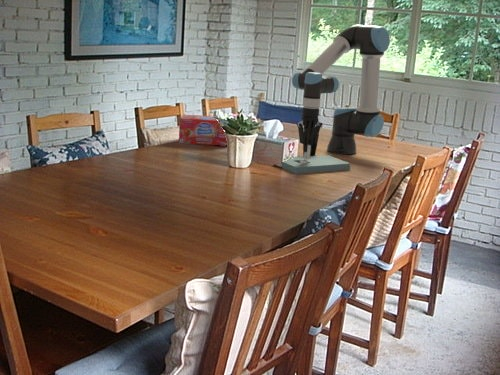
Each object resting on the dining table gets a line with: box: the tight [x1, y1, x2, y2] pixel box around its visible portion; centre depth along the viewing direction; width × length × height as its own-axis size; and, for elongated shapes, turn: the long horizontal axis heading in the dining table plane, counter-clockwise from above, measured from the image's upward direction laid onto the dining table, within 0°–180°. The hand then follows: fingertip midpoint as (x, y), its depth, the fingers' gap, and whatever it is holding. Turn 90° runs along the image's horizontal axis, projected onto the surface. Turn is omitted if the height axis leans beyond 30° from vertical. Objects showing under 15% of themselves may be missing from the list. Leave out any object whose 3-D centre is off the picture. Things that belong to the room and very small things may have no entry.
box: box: [178, 114, 227, 147], centre depth 334 cm, size 27×13×14 cm, turn 85°
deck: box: [281, 154, 351, 175], centre depth 295 cm, size 30×18×3 cm, turn 120°
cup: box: [302, 133, 320, 157], centre depth 313 cm, size 8×8×12 cm
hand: (306, 158), depth 293 cm, fingers closed
